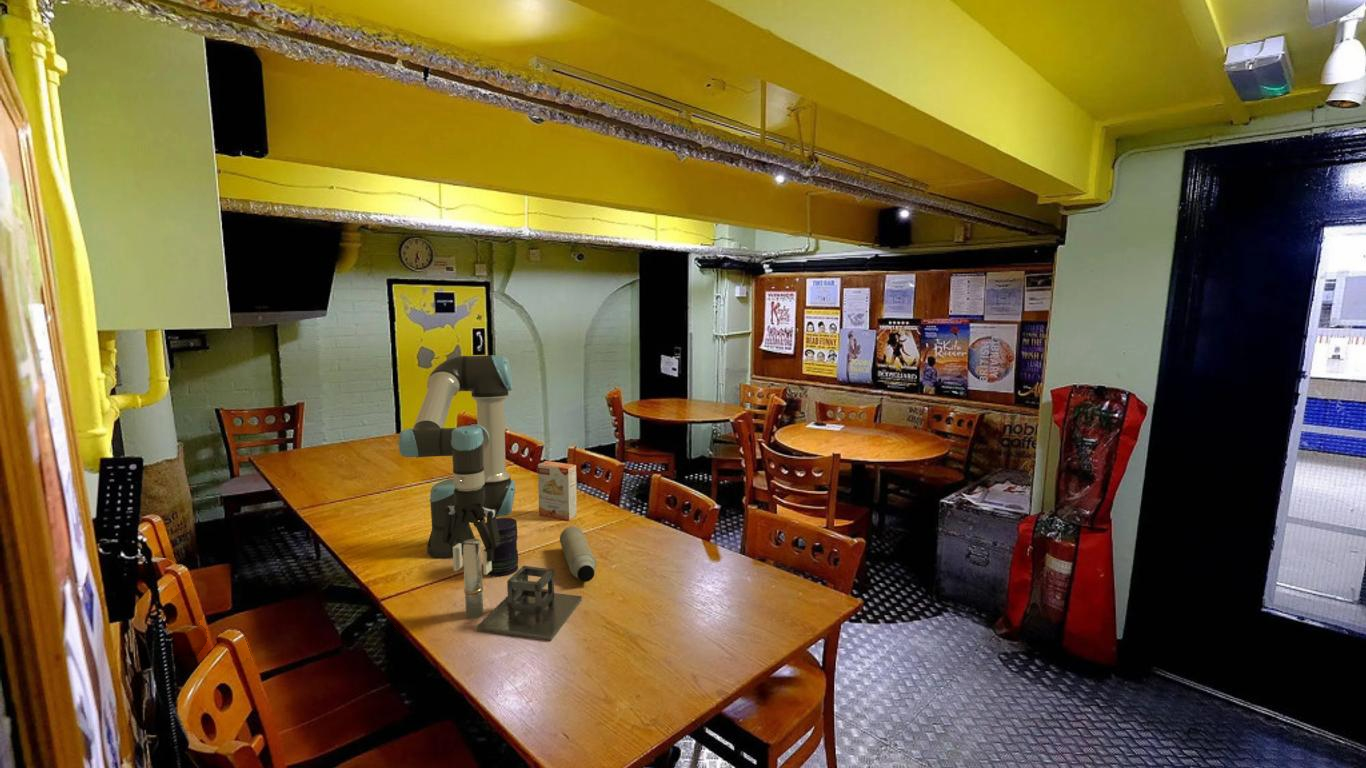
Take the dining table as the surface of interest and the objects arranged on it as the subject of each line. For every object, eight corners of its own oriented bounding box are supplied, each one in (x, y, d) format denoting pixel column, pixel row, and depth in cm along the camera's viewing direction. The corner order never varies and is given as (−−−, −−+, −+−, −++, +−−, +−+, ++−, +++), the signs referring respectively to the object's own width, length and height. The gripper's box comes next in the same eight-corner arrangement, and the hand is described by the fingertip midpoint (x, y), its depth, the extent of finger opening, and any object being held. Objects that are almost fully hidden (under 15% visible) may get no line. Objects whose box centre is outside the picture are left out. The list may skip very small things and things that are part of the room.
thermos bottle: (587, 530, 194) (604, 566, 168) (576, 551, 194) (592, 590, 168) (566, 522, 192) (580, 557, 165) (555, 544, 191) (567, 582, 165)
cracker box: (538, 516, 223) (536, 463, 220) (547, 511, 228) (546, 460, 225) (568, 521, 217) (568, 468, 215) (577, 516, 223) (576, 464, 220)
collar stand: (477, 630, 144) (475, 588, 143) (515, 592, 164) (514, 555, 162) (550, 640, 140) (550, 598, 139) (581, 600, 160) (581, 562, 158)
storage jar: (500, 580, 171) (498, 532, 169) (478, 571, 176) (476, 525, 174) (525, 567, 179) (524, 521, 177) (503, 559, 185) (502, 515, 182)
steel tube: (461, 617, 151) (458, 545, 148) (471, 608, 155) (468, 537, 152) (477, 619, 150) (474, 546, 147) (487, 610, 154) (484, 539, 151)
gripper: (424, 488, 146) (428, 572, 149) (498, 494, 142) (501, 581, 145) (442, 479, 153) (446, 560, 156) (513, 485, 149) (516, 568, 152)
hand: (472, 570), depth 151 cm, fingers open, 8 cm apart
